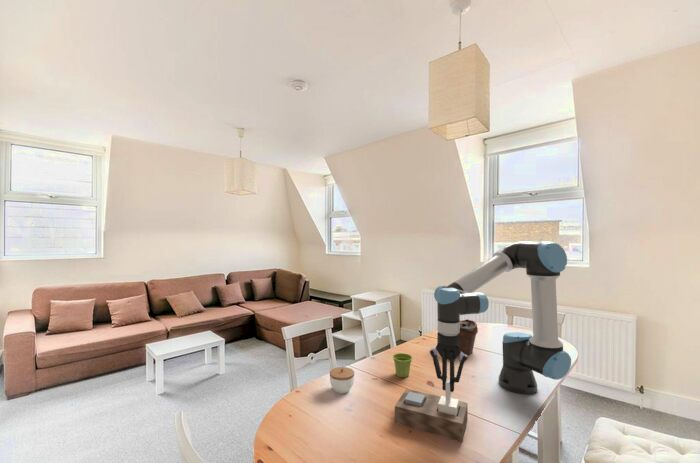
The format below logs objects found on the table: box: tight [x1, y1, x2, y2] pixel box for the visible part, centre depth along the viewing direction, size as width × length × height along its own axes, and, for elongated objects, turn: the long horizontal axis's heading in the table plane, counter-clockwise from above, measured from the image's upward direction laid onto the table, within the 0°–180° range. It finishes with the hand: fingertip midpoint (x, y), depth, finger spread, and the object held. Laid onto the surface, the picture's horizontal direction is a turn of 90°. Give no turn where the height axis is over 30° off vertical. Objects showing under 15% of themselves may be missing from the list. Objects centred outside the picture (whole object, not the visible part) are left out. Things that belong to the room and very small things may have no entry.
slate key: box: [405, 392, 425, 407], centre depth 114 cm, size 6×6×4 cm
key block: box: [394, 388, 469, 443], centre depth 112 cm, size 23×14×6 cm, turn 63°
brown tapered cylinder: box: [459, 319, 479, 355], centre depth 180 cm, size 18×20×18 cm
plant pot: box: [392, 352, 413, 379], centre depth 149 cm, size 9×9×9 cm
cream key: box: [438, 395, 460, 416], centre depth 109 cm, size 6×6×4 cm
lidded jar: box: [329, 366, 355, 395], centre depth 134 cm, size 11×11×9 cm
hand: (448, 399), depth 109 cm, fingers closed
